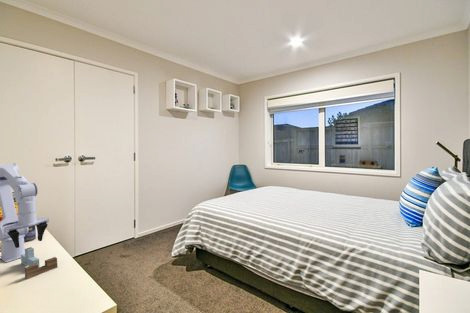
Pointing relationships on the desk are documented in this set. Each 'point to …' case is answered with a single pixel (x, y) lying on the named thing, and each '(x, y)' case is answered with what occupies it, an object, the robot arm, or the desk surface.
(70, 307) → the desk surface
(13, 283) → the desk surface
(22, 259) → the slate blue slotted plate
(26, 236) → the pill bottle
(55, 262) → the brown notched wooden bar
